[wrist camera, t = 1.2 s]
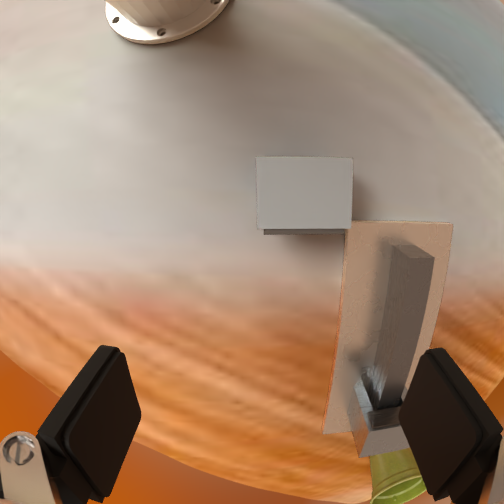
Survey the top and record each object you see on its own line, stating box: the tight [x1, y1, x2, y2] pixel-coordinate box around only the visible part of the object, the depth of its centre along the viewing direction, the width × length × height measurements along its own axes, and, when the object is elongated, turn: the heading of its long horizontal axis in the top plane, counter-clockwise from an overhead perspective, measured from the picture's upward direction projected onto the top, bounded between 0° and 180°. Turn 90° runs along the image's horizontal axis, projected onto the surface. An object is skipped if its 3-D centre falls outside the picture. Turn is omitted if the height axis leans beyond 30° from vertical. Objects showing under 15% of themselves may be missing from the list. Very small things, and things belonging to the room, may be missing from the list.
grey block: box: [256, 156, 353, 235], centre depth 22 cm, size 5×6×7 cm
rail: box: [322, 220, 453, 458], centre depth 25 cm, size 26×11×8 cm, turn 1°
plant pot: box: [370, 448, 427, 504], centre depth 31 cm, size 9×9×9 cm
